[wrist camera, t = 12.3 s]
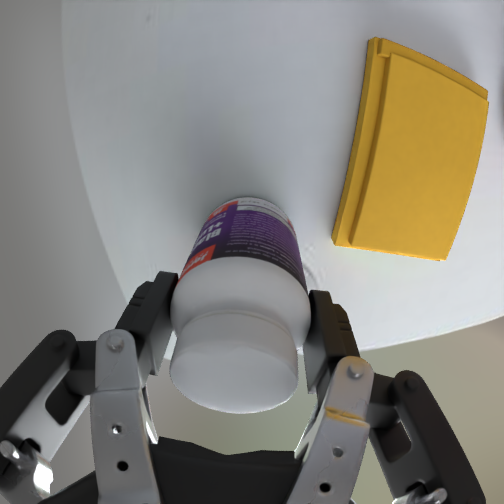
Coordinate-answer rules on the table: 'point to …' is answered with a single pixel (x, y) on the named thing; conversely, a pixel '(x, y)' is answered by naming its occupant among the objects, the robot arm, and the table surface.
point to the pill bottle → (240, 310)
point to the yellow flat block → (410, 155)
